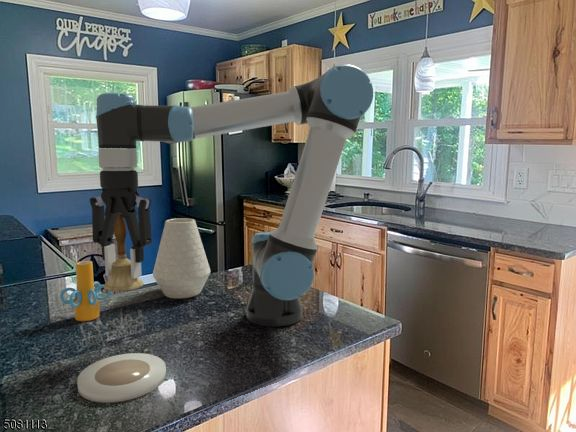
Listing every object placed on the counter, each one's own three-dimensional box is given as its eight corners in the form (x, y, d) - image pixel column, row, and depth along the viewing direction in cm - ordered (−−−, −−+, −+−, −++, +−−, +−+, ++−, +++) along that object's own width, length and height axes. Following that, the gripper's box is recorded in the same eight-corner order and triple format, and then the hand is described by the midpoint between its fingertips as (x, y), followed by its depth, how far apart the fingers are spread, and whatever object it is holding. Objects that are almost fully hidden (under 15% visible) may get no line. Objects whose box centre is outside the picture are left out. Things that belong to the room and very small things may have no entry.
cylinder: (90, 328, 109) (86, 269, 107) (53, 324, 111) (49, 267, 109) (118, 311, 121) (115, 258, 119) (85, 308, 123) (81, 256, 121)
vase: (190, 281, 149) (189, 214, 146) (222, 293, 137) (220, 220, 134) (143, 292, 137) (140, 220, 133) (172, 306, 125) (170, 227, 121)
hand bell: (119, 294, 90) (115, 218, 88) (95, 287, 95) (91, 214, 93) (151, 284, 97) (148, 213, 95) (128, 278, 102) (125, 210, 99)
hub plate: (180, 364, 91) (180, 357, 90) (137, 408, 75) (136, 399, 75) (112, 356, 94) (111, 349, 94) (57, 395, 79) (57, 387, 78)
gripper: (167, 169, 94) (170, 274, 97) (93, 168, 98) (98, 268, 102) (147, 170, 86) (152, 284, 90) (68, 169, 91) (75, 276, 94)
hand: (123, 275), depth 96 cm, fingers closed on hand bell, 6 cm apart
